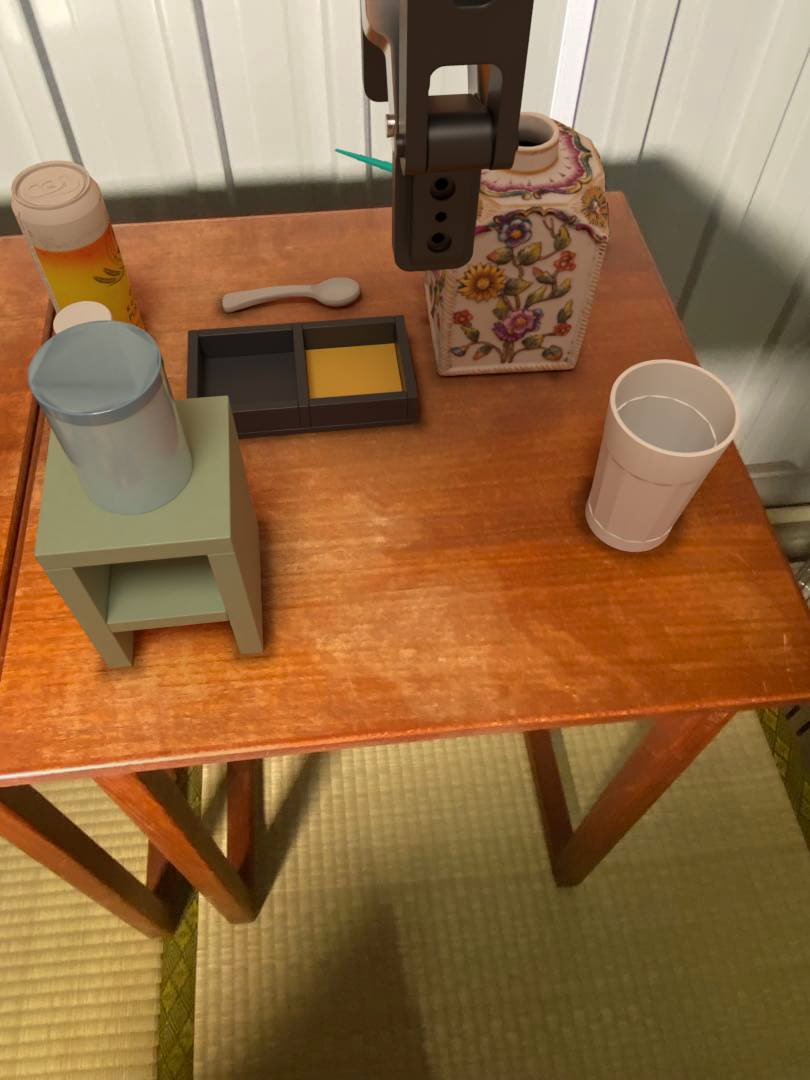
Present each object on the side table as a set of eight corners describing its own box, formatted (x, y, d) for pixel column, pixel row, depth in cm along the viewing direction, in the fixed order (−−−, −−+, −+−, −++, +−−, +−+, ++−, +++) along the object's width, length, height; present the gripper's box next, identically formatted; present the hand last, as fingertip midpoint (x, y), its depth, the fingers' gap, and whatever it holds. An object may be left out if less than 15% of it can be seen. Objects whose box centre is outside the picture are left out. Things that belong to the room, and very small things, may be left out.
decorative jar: (577, 374, 70) (630, 176, 54) (437, 381, 69) (451, 184, 54) (550, 277, 76) (591, 76, 61) (422, 283, 75) (431, 81, 60)
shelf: (109, 669, 55) (33, 556, 43) (117, 540, 60) (52, 408, 48) (263, 652, 56) (230, 537, 44) (258, 527, 61) (228, 394, 49)
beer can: (159, 351, 70) (110, 191, 58) (90, 380, 68) (24, 221, 56) (129, 308, 73) (75, 147, 60) (61, 336, 71) (-8, 175, 58)
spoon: (362, 309, 73) (360, 291, 72) (225, 325, 73) (220, 308, 71) (359, 286, 75) (357, 268, 73) (226, 302, 75) (220, 284, 73)
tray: (194, 442, 65) (186, 416, 63) (195, 358, 70) (187, 329, 67) (417, 424, 67) (418, 397, 64) (403, 342, 71) (403, 314, 69)
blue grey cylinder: (75, 520, 44) (19, 420, 38) (84, 431, 48) (34, 324, 41) (193, 510, 45) (159, 409, 38) (194, 422, 48) (162, 315, 41)
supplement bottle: (70, 428, 66) (26, 336, 58) (104, 380, 68) (66, 286, 60) (132, 445, 65) (96, 355, 57) (164, 396, 68) (134, 303, 60)
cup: (657, 464, 65) (707, 350, 55) (700, 549, 61) (763, 443, 51) (559, 483, 64) (591, 370, 54) (596, 571, 60) (639, 467, 49)
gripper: (191, -808, 16) (280, 57, 30) (176, -837, 9) (305, 344, 22) (573, -793, 17) (489, 47, 30) (877, -809, 9) (583, 323, 23)
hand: (412, 172), depth 26 cm, fingers open, 8 cm apart
